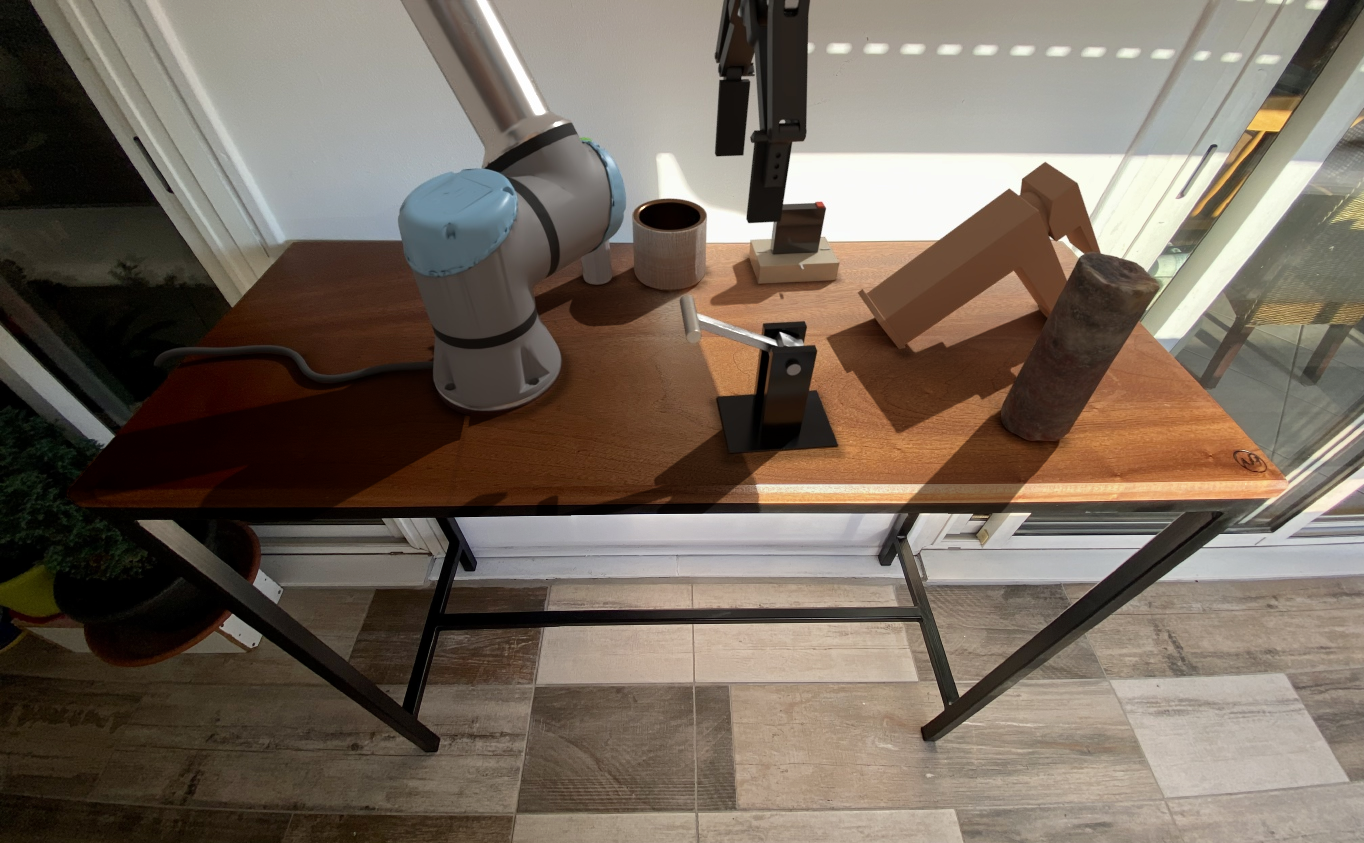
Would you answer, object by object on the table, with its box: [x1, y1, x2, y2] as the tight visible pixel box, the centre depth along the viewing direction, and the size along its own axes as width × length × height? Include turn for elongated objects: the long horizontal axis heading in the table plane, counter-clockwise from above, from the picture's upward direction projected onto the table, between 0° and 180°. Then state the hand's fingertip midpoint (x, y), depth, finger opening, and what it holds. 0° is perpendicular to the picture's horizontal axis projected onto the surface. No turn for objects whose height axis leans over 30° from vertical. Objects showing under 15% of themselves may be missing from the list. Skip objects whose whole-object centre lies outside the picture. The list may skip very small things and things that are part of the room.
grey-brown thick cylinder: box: [1000, 252, 1161, 442], centre depth 62 cm, size 8×7×20 cm
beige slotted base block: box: [748, 236, 840, 285], centre depth 92 cm, size 12×11×3 cm
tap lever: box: [679, 293, 805, 356], centre depth 58 cm, size 13×6×2 cm, turn 96°
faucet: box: [857, 161, 1102, 350], centre depth 78 cm, size 7×23×25 cm
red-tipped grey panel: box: [770, 201, 827, 254], centre depth 88 cm, size 7×2×7 cm, turn 96°
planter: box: [631, 197, 708, 292], centre depth 88 cm, size 11×11×10 cm
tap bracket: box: [716, 320, 839, 455], centre depth 64 cm, size 12×9×13 cm
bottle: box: [580, 137, 613, 286], centre depth 83 cm, size 4×4×20 cm
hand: (744, 185), depth 53 cm, fingers open, 13 cm apart
